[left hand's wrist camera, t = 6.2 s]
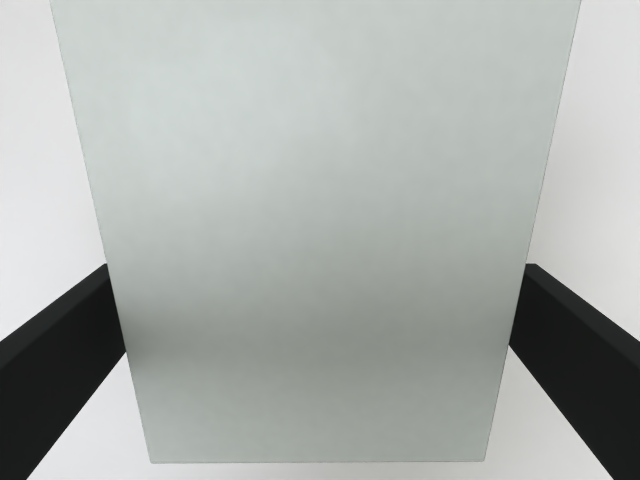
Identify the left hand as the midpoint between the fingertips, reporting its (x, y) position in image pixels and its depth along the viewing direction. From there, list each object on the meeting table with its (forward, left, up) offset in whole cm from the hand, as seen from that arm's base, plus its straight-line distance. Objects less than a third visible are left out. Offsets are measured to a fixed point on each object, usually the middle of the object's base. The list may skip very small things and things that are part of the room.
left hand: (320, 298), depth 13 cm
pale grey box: (+4, -3, -6) cm, 8 cm away
